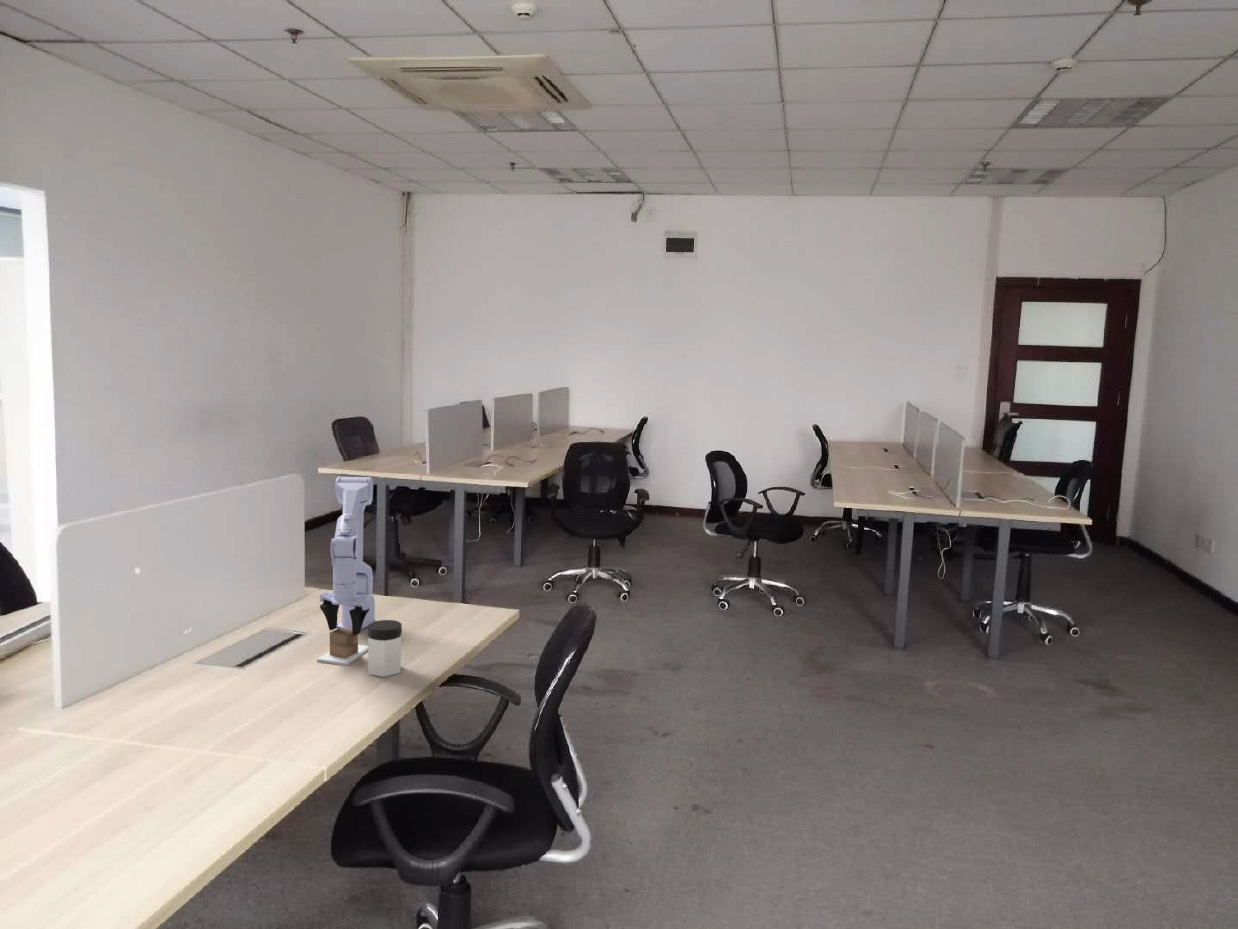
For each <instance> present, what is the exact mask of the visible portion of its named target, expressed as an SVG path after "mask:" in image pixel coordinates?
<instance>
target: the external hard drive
mask: <svg viewBox="0 0 1238 929" xmlns="http://www.w3.org/2000/svg"><path fill="white" fill-rule="evenodd" d="M367 650H368V645H362V644H358V652H357V653H355V654H353V655H351V656H349V657H347V658H343V657H338V656H333V655H330V650H329V651H328V652H326V653H325V654H323V655H321V656H320V657H318V658H317V659H316V662H317V663H322V664H323V663H325V664H331V665H336V666H345V667H346V666H347V665H349V664H350V663H352V662H354V660H356V659H358V658H359V657H360V656H362V655H363V653H364V654H365V653H366V651H367ZM367 652H368V651H367ZM357 657H358V658H357Z"/></svg>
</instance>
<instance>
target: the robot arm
mask: <svg viewBox="0 0 1238 929" xmlns="http://www.w3.org/2000/svg"><path fill="white" fill-rule="evenodd" d="M373 479H374V478H372V477H371V476H368V477H367V476H366V477H365V476H363V477H361V476H340V475H339V476H338V477H337V478H336V479H335V484H334V485H335V486H334V491H335V492H334V494H335V497H336V499H337V502H338V504H341V505H342V514H341V515H340V516H339V517H338V518H337V520H336V525H335V527H336V528H335V532H334V533H335V534H334V537H333V538H331V540H330V555H331V566H332V581H333V582H332V593H331V592H323V593H320V594H319V602H321V604H320V606H319V608H320V610H321V611H322V613H323V615H324V617H325V620H326V622H327V626H328V629H329V631H334V630H337V629H339V628H341V627H345V628H350V629H352V633H353V635H358V636H359V634H361V630H363V629H365V628H366V627H368V626H369V624H370V623H372V622H375V621H378V620H377V619H376V618H375V616H376V610H375V609H376V601H375V598H374V597H375V596H374V595H373V594H372V593H373V589H374V588H373V587H374V583H373V582H374V578H373V569H372V567H371V566H370V565H369V564H368V563H366V562H365V561H363V560H364V558H363V557H364V554H363V553H364V512H365V509H366V506H370V505H371V504H372V502H373V497H374V496H373V495H374V480H373ZM340 605H341V606H340ZM340 607H341V616H340V617H341V620H340V621H341V622H339V623H338V614H339V608H340Z"/></svg>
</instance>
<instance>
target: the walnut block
mask: <svg viewBox="0 0 1238 929" xmlns="http://www.w3.org/2000/svg"><path fill="white" fill-rule="evenodd" d="M358 645H359V634H358V635H353V633H352V629H350V628H345V627H341V628H339V627H338V628H336V629H334V630H331V632H329V651H330V655H333V656H338V657H343V658H347V657H349V656H351V655H353V654H355V653H357V652H358Z"/></svg>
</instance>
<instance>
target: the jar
mask: <svg viewBox="0 0 1238 929" xmlns="http://www.w3.org/2000/svg"><path fill="white" fill-rule="evenodd" d="M402 624H403V623H401V622H400V621H398V620H393V619H382V620H381V619H380V620H377V621H375V622H372V623H370V624H369V626H367V627H368V628H367V630H368V632H367V635H368V639H367V641H368V643H367V644H368V645H367V646H368V651H367V674H368V675H371V676H376V677H381V678H386V677H391V676H394V675H397V674H400V673H401V670H402V632H403V625H402Z"/></svg>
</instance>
